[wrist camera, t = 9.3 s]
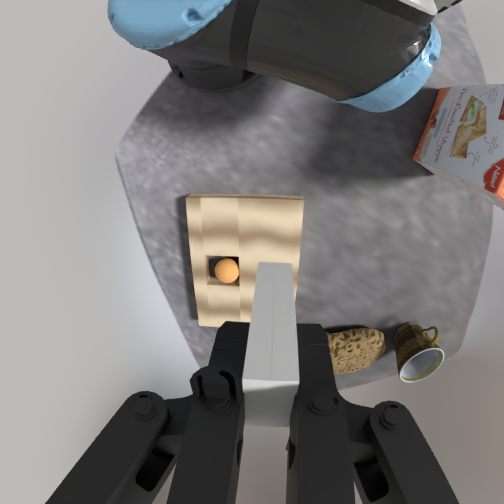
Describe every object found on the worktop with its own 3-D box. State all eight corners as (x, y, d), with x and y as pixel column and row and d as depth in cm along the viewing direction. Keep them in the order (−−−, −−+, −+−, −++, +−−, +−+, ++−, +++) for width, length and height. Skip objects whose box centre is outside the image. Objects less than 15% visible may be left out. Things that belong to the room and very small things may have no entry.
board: (190, 193, 42) (185, 197, 39) (302, 195, 40) (303, 200, 38) (202, 317, 52) (199, 325, 50) (291, 322, 51) (291, 331, 49)
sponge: (280, 352, 57) (364, 376, 53) (273, 374, 49) (367, 398, 46) (299, 300, 53) (390, 327, 50) (295, 317, 46) (398, 346, 42)
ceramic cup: (415, 349, 53) (429, 380, 44) (379, 349, 53) (391, 384, 44) (439, 303, 47) (459, 334, 38) (401, 302, 47) (419, 336, 38)
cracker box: (436, 86, 30) (528, 81, 11) (462, 107, 30) (552, 117, 12) (408, 158, 36) (496, 194, 17) (435, 176, 36) (521, 221, 18)
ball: (228, 267, 41) (244, 257, 44) (208, 261, 43) (224, 252, 46) (229, 290, 43) (244, 279, 46) (210, 283, 45) (226, 273, 48)
